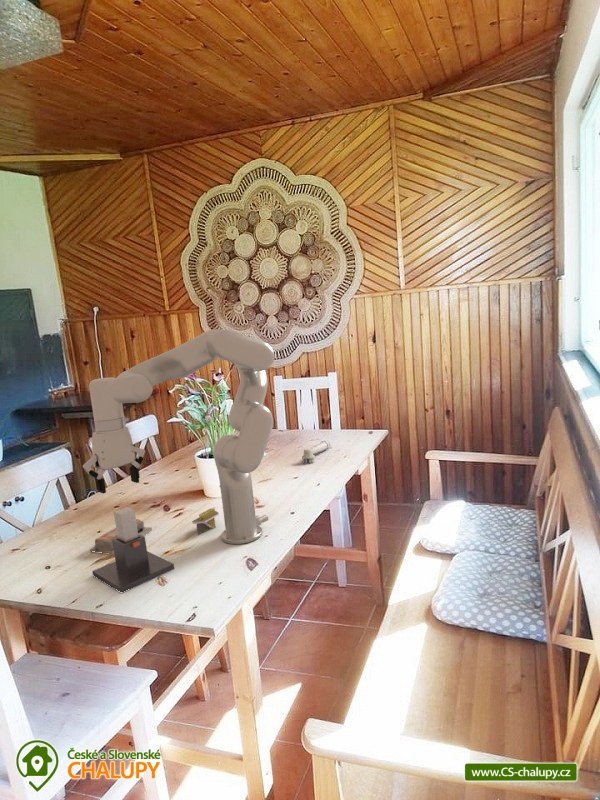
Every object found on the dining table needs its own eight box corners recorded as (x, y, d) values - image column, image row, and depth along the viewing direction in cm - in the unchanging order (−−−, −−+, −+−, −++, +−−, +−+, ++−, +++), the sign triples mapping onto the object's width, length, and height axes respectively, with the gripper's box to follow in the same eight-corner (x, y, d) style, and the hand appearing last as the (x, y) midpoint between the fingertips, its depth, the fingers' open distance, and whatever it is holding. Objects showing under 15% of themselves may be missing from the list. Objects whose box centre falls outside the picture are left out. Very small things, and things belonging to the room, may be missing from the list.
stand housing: (144, 554, 170) (139, 522, 168) (174, 568, 159) (169, 534, 157) (93, 576, 159) (87, 542, 157) (121, 593, 148) (115, 557, 146)
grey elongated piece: (331, 440, 265) (310, 447, 242) (332, 454, 265) (311, 463, 243) (320, 440, 267) (299, 447, 244) (321, 454, 268) (300, 463, 245)
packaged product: (113, 541, 170) (87, 538, 174) (116, 556, 171) (90, 553, 175) (150, 517, 187) (126, 516, 191) (153, 531, 188) (128, 529, 191)
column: (135, 561, 161) (127, 506, 158) (143, 565, 158) (134, 509, 155) (122, 567, 158) (113, 511, 156) (129, 571, 155) (120, 514, 153)
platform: (240, 523, 188) (238, 504, 186) (204, 546, 173) (201, 525, 172) (212, 518, 194) (210, 500, 193) (175, 540, 179) (172, 520, 178)
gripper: (132, 417, 160) (140, 476, 163) (71, 430, 148) (81, 494, 151) (146, 419, 154) (154, 480, 157) (84, 433, 143) (94, 499, 146)
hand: (119, 487), depth 154 cm, fingers open, 9 cm apart
